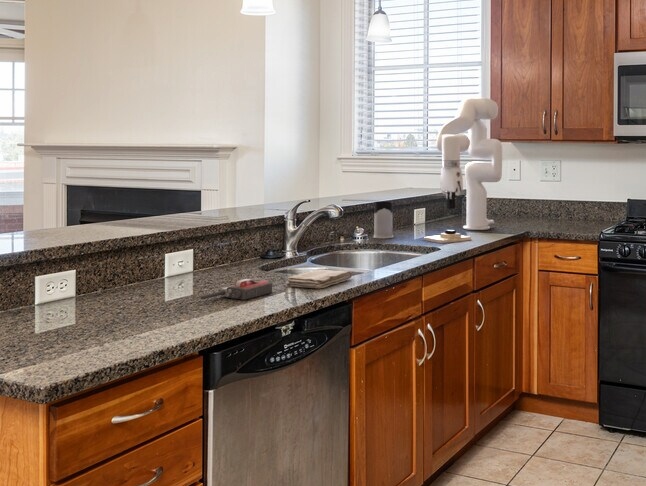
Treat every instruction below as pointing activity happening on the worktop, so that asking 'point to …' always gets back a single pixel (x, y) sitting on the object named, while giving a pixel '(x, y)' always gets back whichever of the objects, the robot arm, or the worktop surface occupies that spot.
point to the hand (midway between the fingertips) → (451, 208)
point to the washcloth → (318, 278)
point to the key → (450, 231)
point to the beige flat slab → (447, 238)
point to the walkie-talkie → (244, 289)
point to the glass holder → (383, 220)
